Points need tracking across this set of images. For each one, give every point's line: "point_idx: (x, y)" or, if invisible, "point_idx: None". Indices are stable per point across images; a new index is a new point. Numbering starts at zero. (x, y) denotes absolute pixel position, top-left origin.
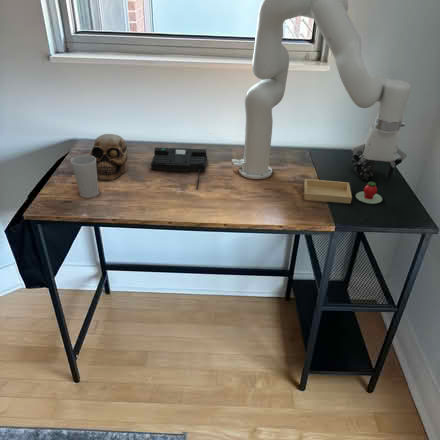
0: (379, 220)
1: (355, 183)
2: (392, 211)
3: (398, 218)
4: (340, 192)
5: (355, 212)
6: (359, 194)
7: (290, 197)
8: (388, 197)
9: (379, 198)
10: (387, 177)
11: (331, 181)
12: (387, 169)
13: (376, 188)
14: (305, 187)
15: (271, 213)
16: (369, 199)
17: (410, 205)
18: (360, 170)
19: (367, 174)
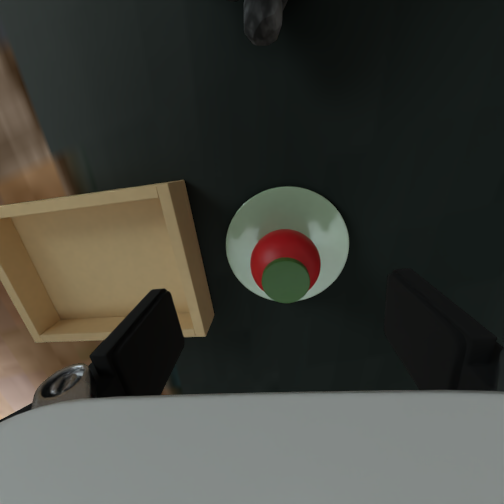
0: (317, 388)
1: (214, 73)
2: (377, 326)
3: (389, 367)
4: (158, 238)
5: (237, 357)
6: (241, 234)
7: (14, 309)
8: (387, 204)
9: (335, 249)
10: (391, 340)
11: (80, 202)
12: (418, 312)
13: (314, 280)
14: (11, 296)
15: (22, 399)
16: None
17: (483, 259)
18: (164, 379)
19: (268, 18)
